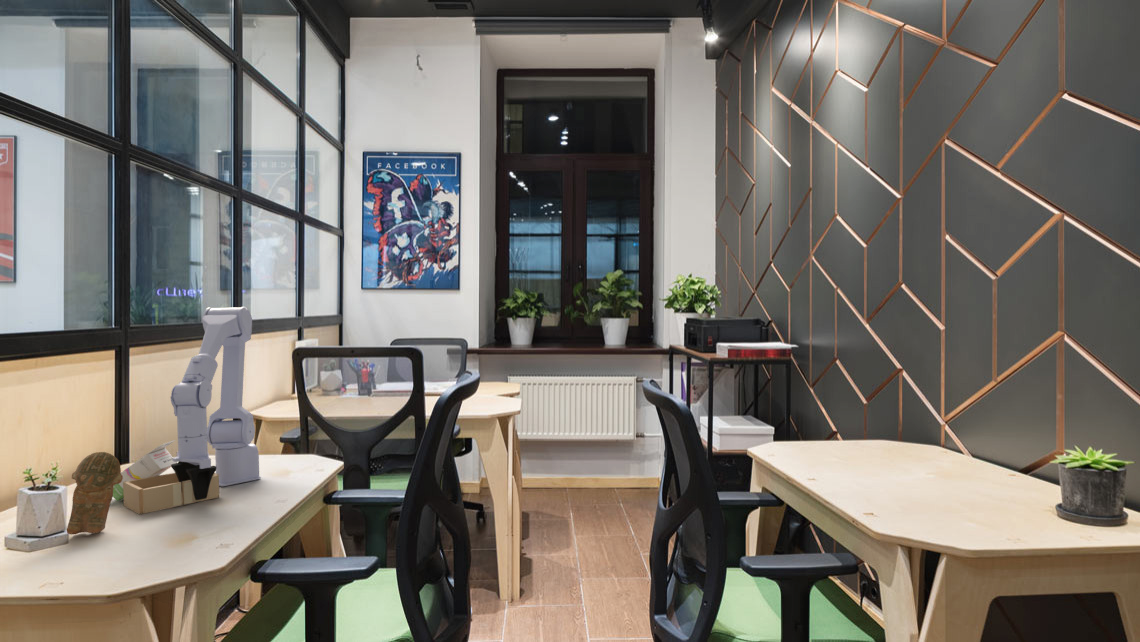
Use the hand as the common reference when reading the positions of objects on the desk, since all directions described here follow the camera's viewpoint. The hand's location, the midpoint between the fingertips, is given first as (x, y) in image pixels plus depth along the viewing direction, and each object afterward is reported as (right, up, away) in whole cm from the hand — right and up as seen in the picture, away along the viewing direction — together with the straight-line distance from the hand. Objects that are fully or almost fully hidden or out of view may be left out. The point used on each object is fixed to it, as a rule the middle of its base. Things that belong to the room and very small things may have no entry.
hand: (194, 496), depth 146 cm
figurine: (-8, -2, -18) cm, 20 cm away
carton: (-6, -2, +2) cm, 7 cm away
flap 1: (-4, -1, -5) cm, 6 cm away
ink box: (-21, 0, +6) cm, 22 cm away
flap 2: (+1, -1, +1) cm, 2 cm away
